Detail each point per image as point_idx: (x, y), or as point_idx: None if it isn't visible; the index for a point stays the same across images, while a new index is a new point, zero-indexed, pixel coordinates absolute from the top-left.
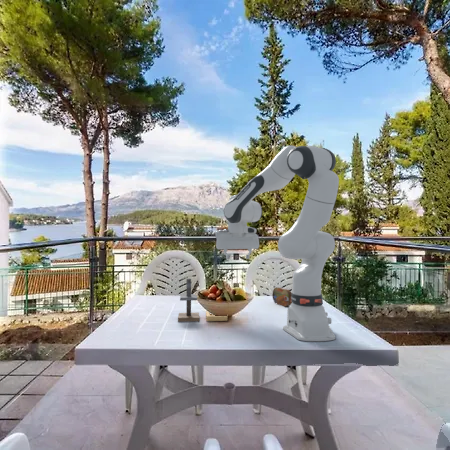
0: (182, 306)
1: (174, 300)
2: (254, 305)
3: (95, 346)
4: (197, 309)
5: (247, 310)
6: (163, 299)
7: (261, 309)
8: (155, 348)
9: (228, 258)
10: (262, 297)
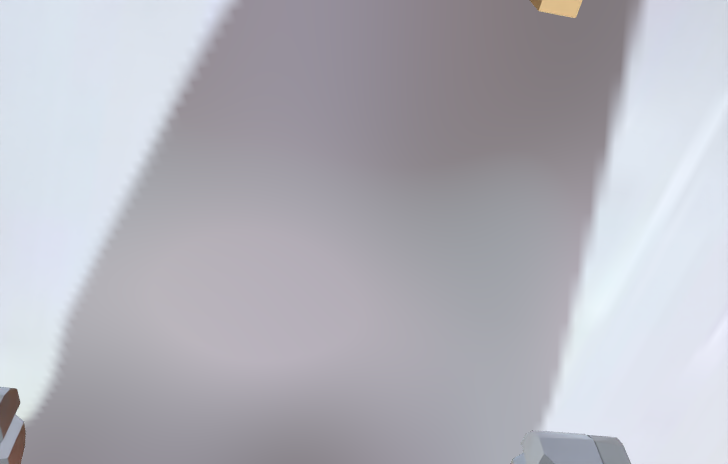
0: (699, 267)
1: (666, 418)
2: (109, 173)
3: None
4: (637, 156)
5: (212, 9)
6: (718, 449)
7: (60, 12)
8: None
9: (567, 438)
10: None
